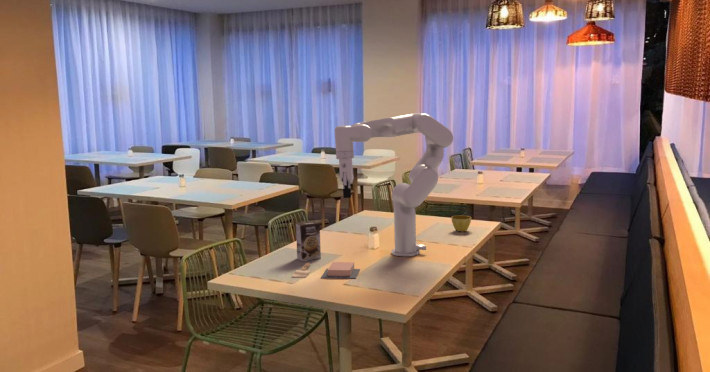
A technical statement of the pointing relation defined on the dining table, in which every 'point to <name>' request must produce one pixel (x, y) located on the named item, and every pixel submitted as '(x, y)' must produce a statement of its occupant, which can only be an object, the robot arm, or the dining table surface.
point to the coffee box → (308, 240)
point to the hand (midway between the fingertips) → (347, 197)
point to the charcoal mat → (353, 276)
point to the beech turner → (302, 272)
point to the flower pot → (461, 222)
